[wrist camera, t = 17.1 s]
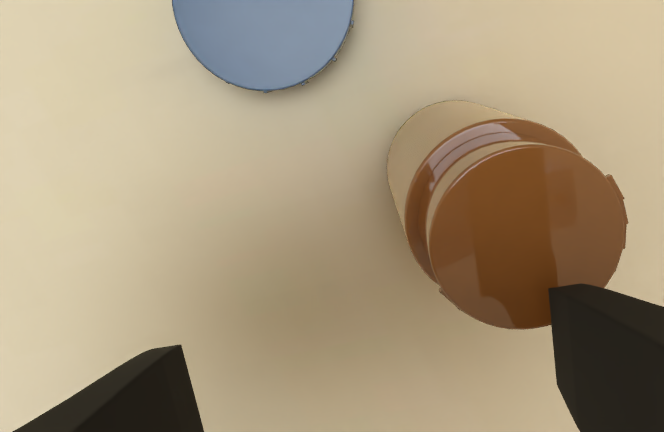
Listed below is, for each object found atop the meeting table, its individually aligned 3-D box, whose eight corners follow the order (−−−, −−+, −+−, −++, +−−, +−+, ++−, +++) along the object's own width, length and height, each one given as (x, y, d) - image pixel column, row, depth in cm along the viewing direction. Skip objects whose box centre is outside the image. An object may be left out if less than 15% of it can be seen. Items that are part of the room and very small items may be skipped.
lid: (369, 70, 19) (372, 71, 17) (212, 102, 19) (194, 108, 17) (337, -103, 18) (336, -127, 15) (171, -64, 18) (145, -81, 16)
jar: (428, 252, 20) (481, 380, 12) (362, 146, 20) (371, 206, 11) (541, 187, 20) (679, 275, 11) (478, 73, 19) (578, 82, 11)
